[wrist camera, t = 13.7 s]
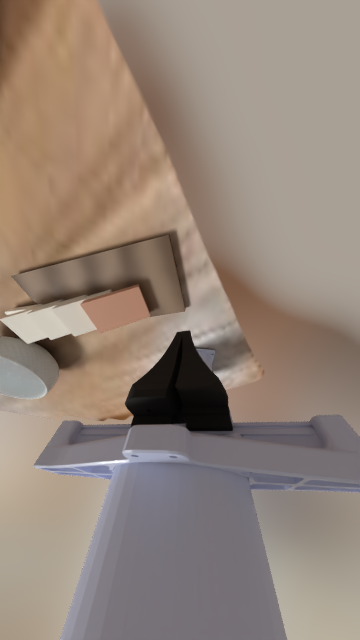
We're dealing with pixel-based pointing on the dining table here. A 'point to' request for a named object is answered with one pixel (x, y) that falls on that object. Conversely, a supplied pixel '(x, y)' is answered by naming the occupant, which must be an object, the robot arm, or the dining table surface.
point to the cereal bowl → (26, 369)
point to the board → (112, 276)
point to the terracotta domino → (116, 308)
